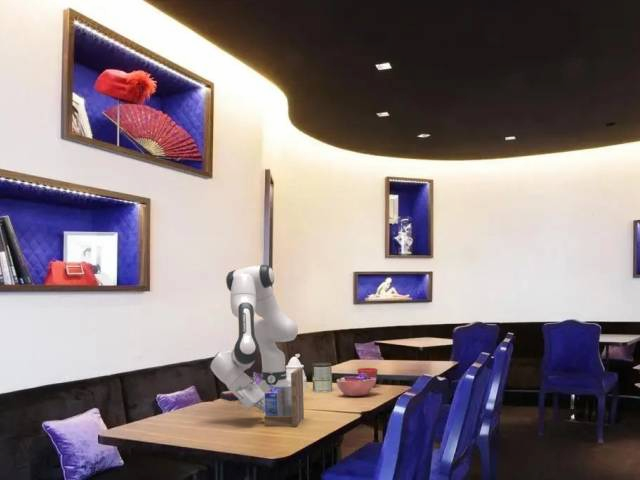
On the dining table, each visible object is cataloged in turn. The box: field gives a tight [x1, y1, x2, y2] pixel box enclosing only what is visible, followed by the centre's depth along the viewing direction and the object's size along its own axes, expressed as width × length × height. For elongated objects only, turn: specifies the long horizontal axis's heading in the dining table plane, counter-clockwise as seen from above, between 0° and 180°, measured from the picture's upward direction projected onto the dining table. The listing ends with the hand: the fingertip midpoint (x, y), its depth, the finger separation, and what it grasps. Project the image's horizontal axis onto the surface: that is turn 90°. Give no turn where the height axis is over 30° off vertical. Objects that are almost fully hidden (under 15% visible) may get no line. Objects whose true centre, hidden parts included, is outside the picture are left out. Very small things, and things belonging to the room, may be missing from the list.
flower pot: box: [357, 367, 378, 389], centre depth 326 cm, size 11×11×10 cm
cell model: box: [336, 372, 377, 397], centre depth 299 cm, size 17×20×11 cm
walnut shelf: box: [264, 367, 305, 428], centre depth 240 cm, size 18×12×20 cm
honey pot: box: [285, 353, 308, 389], centre depth 332 cm, size 13×13×18 cm
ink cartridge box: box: [264, 385, 284, 416], centre depth 240 cm, size 10×6×14 cm, turn 171°
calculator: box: [220, 390, 240, 402], centre depth 302 cm, size 11×4×15 cm
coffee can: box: [311, 362, 333, 393], centre depth 317 cm, size 10×10×14 cm
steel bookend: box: [271, 386, 292, 416], centre depth 248 cm, size 4×11×13 cm, turn 82°
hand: (266, 411), depth 241 cm, fingers closed, pressing on ink cartridge box
